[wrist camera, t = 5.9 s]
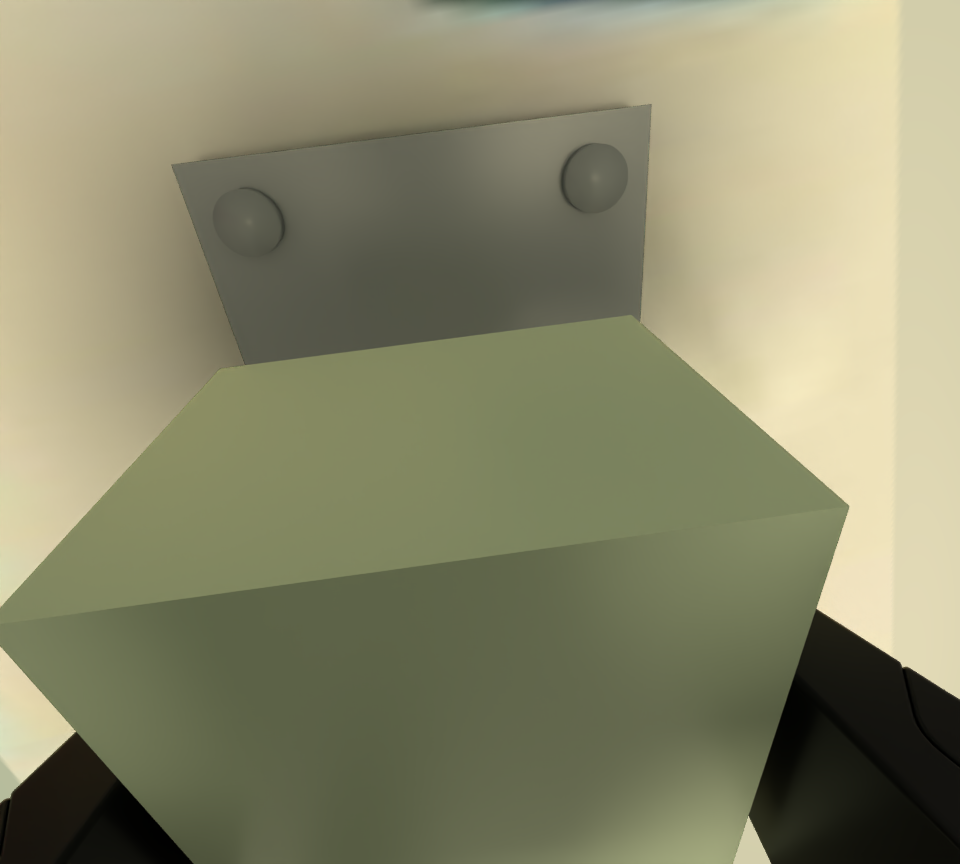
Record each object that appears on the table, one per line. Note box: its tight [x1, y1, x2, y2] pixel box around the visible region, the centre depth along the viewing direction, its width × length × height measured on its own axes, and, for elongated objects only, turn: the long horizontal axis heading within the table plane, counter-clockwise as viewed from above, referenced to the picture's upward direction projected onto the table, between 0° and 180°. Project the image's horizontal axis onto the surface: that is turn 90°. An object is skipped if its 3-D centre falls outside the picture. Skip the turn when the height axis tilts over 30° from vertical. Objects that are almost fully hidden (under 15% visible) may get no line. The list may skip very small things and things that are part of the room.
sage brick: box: [0, 315, 850, 864], centre depth 7 cm, size 6×6×4 cm
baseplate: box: [172, 104, 651, 365], centre depth 16 cm, size 12×12×2 cm
